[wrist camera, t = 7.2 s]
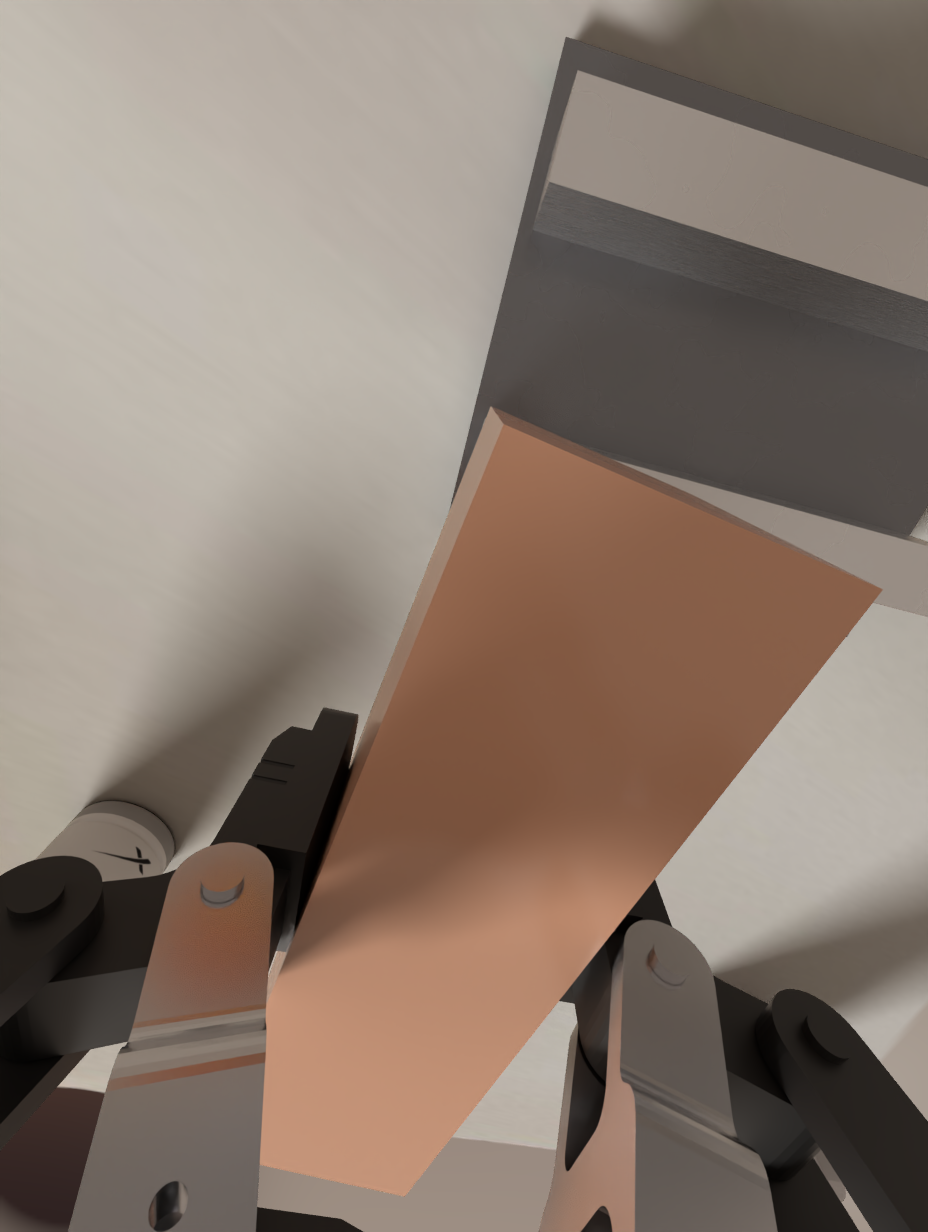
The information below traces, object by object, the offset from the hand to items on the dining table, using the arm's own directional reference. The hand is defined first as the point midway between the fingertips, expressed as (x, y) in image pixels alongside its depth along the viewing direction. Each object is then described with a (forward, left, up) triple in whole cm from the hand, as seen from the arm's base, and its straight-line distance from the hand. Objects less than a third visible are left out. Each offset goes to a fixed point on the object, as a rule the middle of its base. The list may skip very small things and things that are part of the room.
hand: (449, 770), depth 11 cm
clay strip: (0, 0, -1) cm, 1 cm away
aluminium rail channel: (-9, -10, -15) cm, 20 cm away
